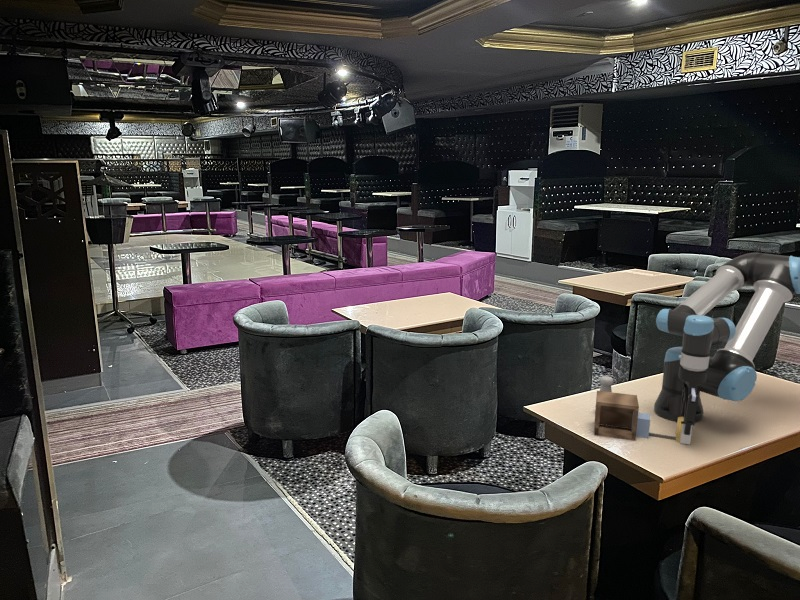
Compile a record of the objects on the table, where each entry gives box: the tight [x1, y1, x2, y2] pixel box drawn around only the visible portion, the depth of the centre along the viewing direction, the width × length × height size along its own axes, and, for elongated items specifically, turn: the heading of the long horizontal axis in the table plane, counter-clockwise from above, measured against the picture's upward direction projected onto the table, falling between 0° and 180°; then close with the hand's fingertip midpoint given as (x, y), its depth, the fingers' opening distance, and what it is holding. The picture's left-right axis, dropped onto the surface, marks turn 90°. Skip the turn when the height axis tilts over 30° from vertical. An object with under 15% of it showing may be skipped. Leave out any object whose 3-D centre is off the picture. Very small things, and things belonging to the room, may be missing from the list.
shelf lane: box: [593, 390, 640, 441], centre depth 186 cm, size 12×10×11 cm
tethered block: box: [630, 411, 684, 443], centre depth 183 cm, size 16×5×7 cm, turn 67°
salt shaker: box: [594, 375, 614, 408], centre depth 200 cm, size 6×6×13 cm
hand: (684, 440), depth 181 cm, fingers closed on tethered block, 4 cm apart
